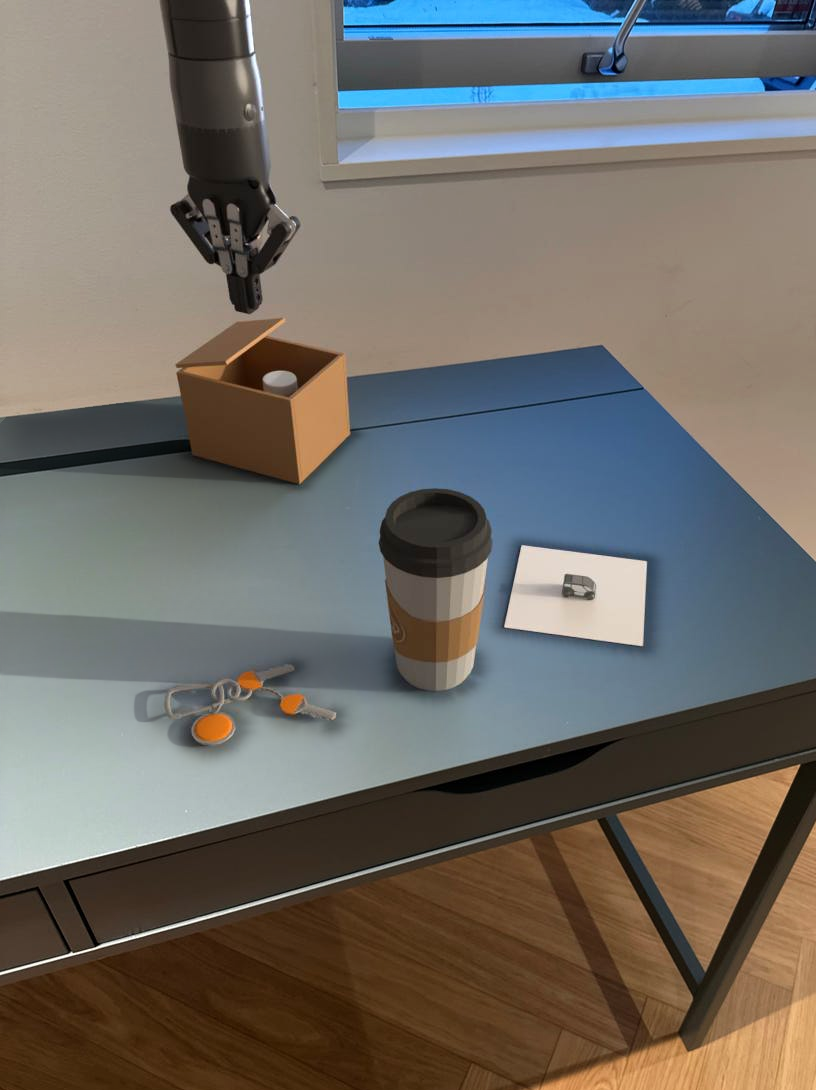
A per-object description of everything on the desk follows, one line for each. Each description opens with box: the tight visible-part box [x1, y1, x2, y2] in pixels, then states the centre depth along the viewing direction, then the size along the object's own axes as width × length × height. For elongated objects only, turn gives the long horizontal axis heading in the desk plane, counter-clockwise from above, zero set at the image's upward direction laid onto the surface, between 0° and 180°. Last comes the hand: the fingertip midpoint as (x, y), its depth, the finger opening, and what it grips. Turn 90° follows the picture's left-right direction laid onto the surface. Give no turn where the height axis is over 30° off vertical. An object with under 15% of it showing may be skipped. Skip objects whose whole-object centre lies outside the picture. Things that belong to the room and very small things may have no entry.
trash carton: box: [175, 335, 351, 485], centre depth 98 cm, size 13×11×10 cm
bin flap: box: [175, 317, 287, 369], centre depth 95 cm, size 6×11×1 cm, turn 158°
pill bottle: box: [263, 371, 298, 398], centre depth 98 cm, size 4×4×8 cm
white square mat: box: [503, 544, 648, 647], centre depth 84 cm, size 12×12×2 cm
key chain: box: [163, 663, 337, 746], centre depth 73 cm, size 13×7×1 cm, turn 104°
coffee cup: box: [378, 487, 493, 692], centre depth 72 cm, size 8×8×15 cm
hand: (247, 309), depth 92 cm, fingers closed
